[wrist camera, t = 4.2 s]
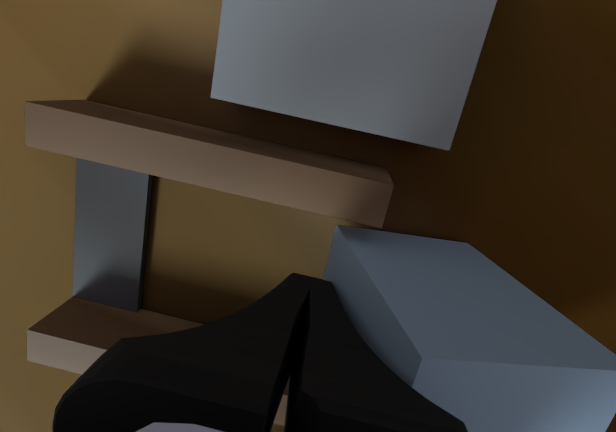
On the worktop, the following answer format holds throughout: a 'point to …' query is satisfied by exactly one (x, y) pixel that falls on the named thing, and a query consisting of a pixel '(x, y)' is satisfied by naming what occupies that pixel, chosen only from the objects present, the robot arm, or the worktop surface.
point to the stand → (354, 62)
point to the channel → (136, 207)
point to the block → (471, 334)
